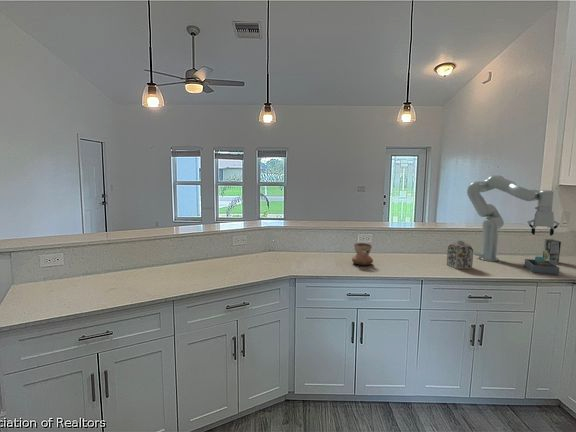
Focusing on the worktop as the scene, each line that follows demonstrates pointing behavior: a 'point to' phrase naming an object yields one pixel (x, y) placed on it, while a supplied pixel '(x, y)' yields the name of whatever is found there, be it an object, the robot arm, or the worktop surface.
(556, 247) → the coffee box
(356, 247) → the ceramic jug
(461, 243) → the decorative jar
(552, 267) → the tote
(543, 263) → the walnut cube
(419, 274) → the worktop surface
